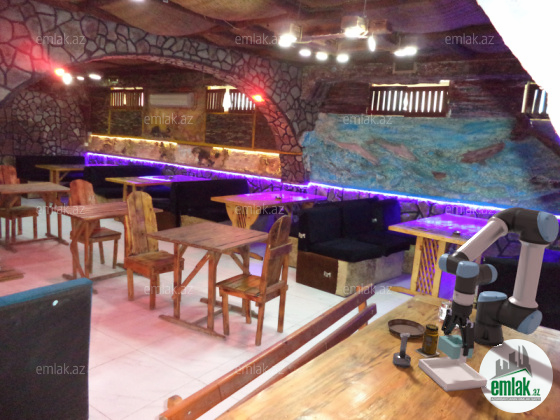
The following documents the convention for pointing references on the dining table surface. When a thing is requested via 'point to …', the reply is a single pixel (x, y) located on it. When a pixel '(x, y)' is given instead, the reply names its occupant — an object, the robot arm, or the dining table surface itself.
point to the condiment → (429, 341)
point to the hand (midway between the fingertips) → (453, 356)
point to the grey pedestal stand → (402, 353)
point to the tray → (452, 374)
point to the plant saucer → (406, 327)
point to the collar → (452, 346)
